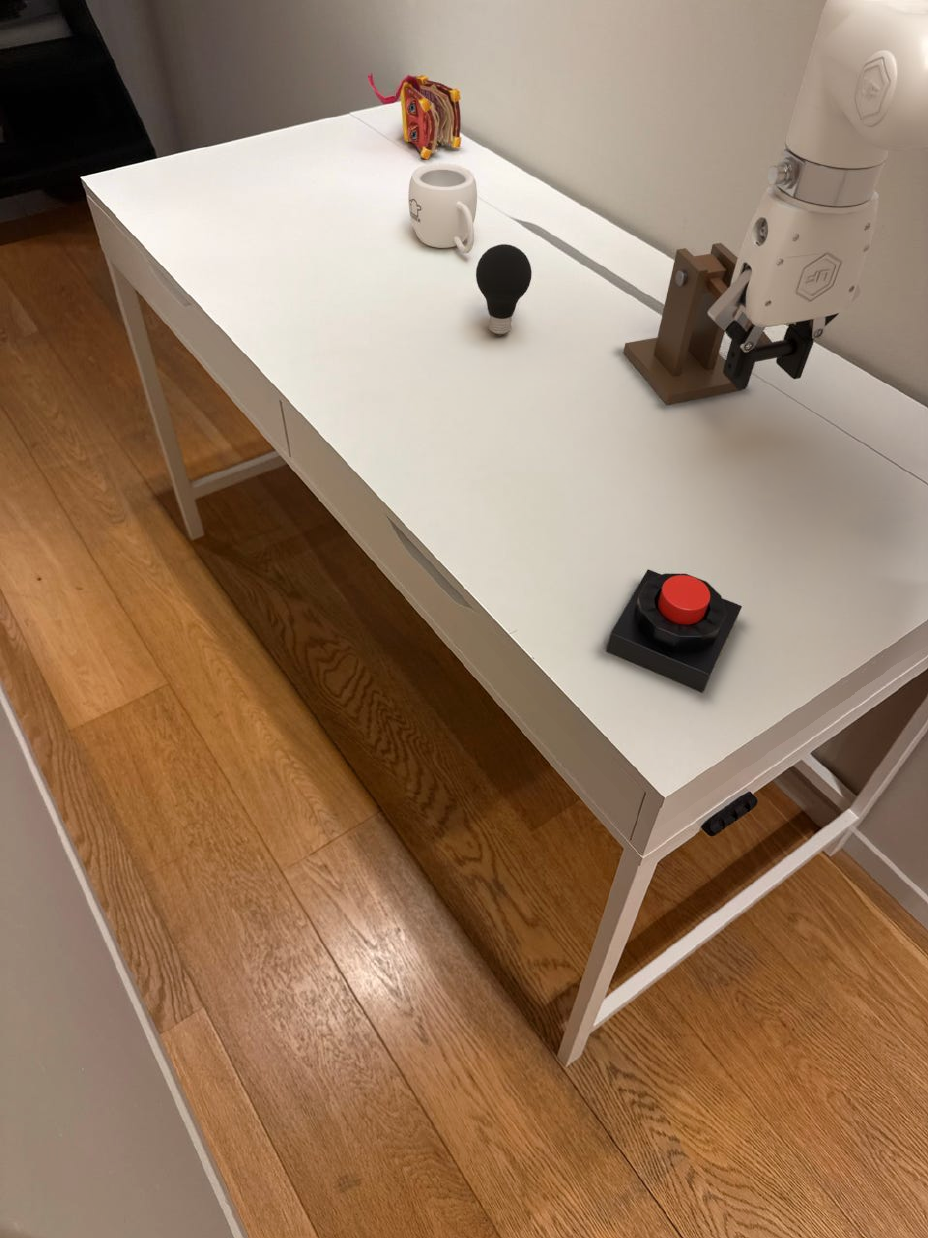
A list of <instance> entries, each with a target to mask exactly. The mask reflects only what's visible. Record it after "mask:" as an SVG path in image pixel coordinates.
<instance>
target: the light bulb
mask: <svg viewBox="0 0 928 1238" xmlns="http://www.w3.org/2000/svg"><path fill="white" fill-rule="evenodd" d="M532 275H533V274H532V266H531V263H530V260H529V258H528V256H527V255H526V253H525V252H523V251H522V250H521V249H520V248H518V247H517V246H515V245H512V244H507V243H503V244H502V243H501V244H497V245H494V246H491V247H490V248H488V249H487V250H485V252H484V253H482V255H481V256H480V258H479V260H478V262H477V266H476V268H475V279H476V280H475V281H476V284H477V287H478V289H479V292H481V294H482V295H483V297H484V298H485V302H486V306H487V307H486V308H487V311H488V315H489V317H488V319H489V321H488V322H489V323H488V329H489V330H490V331H491V332H492V333H494V334H495V335H497V336H500V337H501V336H503V335H505V334H507V333H509V332H510V330H511V329H512V322H513V315H514V313H515V311H516V308H517V304H518V302H519V301H520V299H521V298H522V297H523V296H524V295H525V294H526V293H527V291H528V289H529V288H530V284H531V281H532Z"/></svg>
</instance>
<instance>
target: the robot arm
mask: <svg viewBox="0 0 928 1238" xmlns="http://www.w3.org/2000/svg"><path fill="white" fill-rule="evenodd" d="M808 57H809V58H808V61H807V65H806V68H805V71H804V74H803V79H802V82H801V86H800V89H799V93H798V95H797V99H796V103H795V106H794V110H793V114H792V117H791V120H790V124H789V128H788V131H787V134H786V137H785V141H784V145H783V149H782V151H781V156H780V159H779V161H778V162H779V163H777V164H775V165H771V166H769V168H768V170H767V172H766V180H767V183H768V184H769V185H771V186H769V187H767V188H766V190H765V191H764V194H763V196H762V198H761V200H760V201H759V203H758V206H757V208H756V211H755V212H754V215H753V217H752V219H751V222H750V224H749V227H748V229H747V232H746V234H745V237H744V239H743V242H742V245H741V248H740V251H739V254H738V256H737V258H738V260H737V263H736V266H735V269H734V273H733V277H732V280H731V285H730V287H729V288H728V289H727V290H726V291H725V292H724V294H723V295H722V296H721V297H720V298H719V299H718V300H717V301H716V302H715V303H714V304H713V306H712V307H711V308H710V309H709V310H708V316H709V317H710V318H711V319H712V320H713V321H714V322H715V323H716V324H717V325H718V326H720V327H721V328H722V329H723V330H724V331H725V334H726V336H727V337H728V338H729V339H730V343H729V347H728V350H727V354H726V358H725V364H724V369H723V373H724V375H725V376H726V377H727V378H728V379H729V381H730V382H731V383H732V384H733V385H734V386H735V387H736V388H737V389H738V390H737V391H743V390H746V389H747V387H748V386H749V383H750V380H751V378H752V377H751V376H752V374H753V371H754V367H755V364H756V362H755V361H756V358H757V351H756V350H755V349H754V346H755V345H756V343H757V341H758V339H759V338H760V336H761V334H762V332H763V331H764V332H765V329H766V328H771V327H776V326H777V327H778V326H782V325H783V326H784V325H787V328H786V330H785V333H784V335H783V339H782V340H786V339H794V340H795V342H796V344H797V349H796V352H795V353H794V354H793V355H789V356H783V357H778V358H775V363H776V364H777V366H779V367H780V369H781V370H783V371H784V373H786V374H787V375H788V377H790V378H791V379H793V380H797V379H801V377H802V375H803V373H804V371H805V367H806V365H807V363H808V362H807V361H808V359H809V357H810V353H811V351H812V348H813V345H814V343H815V340H818V339H820V338H821V337H822V336H823V335H824V333H825V327H826V326H828V324H830V323H831V322H832V321H833V320H834V319H836V318H837V316H838V315H839V314H840V313H841V312H843V311H845V310H846V309H848V307H849V306H850V304H851V303H852V302H854V301H855V300H856V299H857V298H858V297H859V295H860V294H861V290H860V287H859V282H860V279H861V276H862V274H863V271H864V267H865V264H866V260H867V258H868V254H869V251H870V247H871V244H872V240H873V236H874V231H875V228H876V221H877V216H878V210H879V200H880V196H879V194H878V192H877V191H875V190H876V187H877V185H878V182H879V180H880V177H881V174H882V171H883V168H884V166H885V163H886V161H887V158H888V155H889V152H903V151H913V150H914V151H915V150H920V149H921V150H922V149H928V0H826V1H825V3H824V6H823V9H822V11H821V16H820V19H819V22H818V26H817V29H816V33H815V37H814V40H813V44H812V47H811V50H810V54H809V56H808ZM740 305H741V306H740ZM739 306H740V308H739V310H738V312H737V314H736V315H735V317H734V318H733V312H734V311H735V310H736V309H737V308H738V307H739ZM748 320H751V322H752V324H751V325H750V327H749V329H748V331H747V332H746V331H745V330H744V327H745V326H746V324H747V322H748Z"/></svg>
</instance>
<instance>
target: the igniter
mask: <svg viewBox="0 0 928 1238" xmlns="http://www.w3.org/2000/svg"><path fill="white" fill-rule="evenodd" d="M678 575H686V576H691V577H694V578H696V579H698V580H700V581H701V582H703V583H704V584H705V585H706V586H707V588H708V590H709V592H710V601H709V603H708V606H707V609H706V612H705V614H704V616H703V618H702V619H701V620H700V621H698V622H697V623H694V624H690V625H682V624H677V623H674V622H672V621H670V620H668V619H667V618H665V617H664V616H663V615H662V613H661V612H660V610H659V607H658V600H659V597H660V594H661V590H662V587H663V584H664V583H665V582H666V580H668V579H669V578H671V577H673V576H678ZM742 608H743V607H742V605H740V604H739V603H735V602H733V601H730V600H728V599H726V598H723V597H722V595H721V594H720V593H719V592H718V591H717V590H716V589H715V587H713V586H712V585H711V584H710V583H708V582H707V580H703V579H701V578H698V577H696V576H693V575H691V574H688V573H668V572H667V573H662V574H661V573H659V572H657V571H654V570H651V569H649V568H648V569H647V570H646V571H645V572H644V575H643V577H642V578H641V580H640V581H639V583H638V585H637V587H636V588H635V590H634V592H633V594H632V595H631V597H630V599H629V600H628V602H627V604H626V606H625V607H624V609H623V611H622V612H621V615H620V616H619V618H618V620H617V621H616V623H615V625H614V626H613V628H612V630H611V632H610V634H609V638H608V642H607V645H606V649H605V652H607V653H610V654H612V655H614V656H616V657H619V658H621V659H623V660H625V661H628V662H631V663H633V664H635V665H638V666H640V667H642V668H645V669H647V670H649V671H652V672H654V673H656V674H658V675H661V676H663V677H665V678H668V679H670V680H673V681H674V682H678V683H679V684H681V685H684V686H687V687H689V688H691V689H694V690H696V691H699V692H700V693H704V692H705V690H706V687H707V685H708V684H709V681H710V679H711V677H712V674H713V673H714V670H715V668H716V666H717V664H718V661H719V659H720V657H721V655H722V653H723V651H724V648H725V646H726V645H727V642H728V641H729V638H730V635H731V633H732V631H733V629H734V627H735V625H736V622H737V619H738V618H739V616H740V612H741V610H742Z"/></svg>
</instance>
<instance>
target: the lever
mask: <svg viewBox="0 0 928 1238" xmlns="http://www.w3.org/2000/svg"><path fill="white" fill-rule="evenodd" d="M693 256H694V257H695V258H696V259H697V260H698V261H700V262H701V263H702V264H703V265H704V266H705V267H706V268H707V269H708V272H707V276H706V280H705V284H704V288H703V292H702V294H706V293H711V294H712V295H713V296H714V297H715V299H716V300H718V299H719V298H720V297H721V296H722V295H723V294H724V292H725V291H726V290H727V289H728V288H727V286H726V285H725V284H724V283H723V278H724V275H725V272H726V269H725V268H724V267H723V265H722V264H721V263H720V262H719V261H718V259H717V258H716V257H715V256H714V255H713V254H710V253H706V254H700V255H693ZM740 306H741V305H740ZM740 306H739V307H738V308H737V309H736V310H735V311H734V312H733V318H734V317H735V315H736V314H737V312H738V310H739V308H740ZM751 324H752V322H751V320H748V322H747V324H746V326H745V327H744V330H745V331H746V332H747V331H748V329H749V327H750V325H751ZM754 349H755V350H756V351H757V358H756V361H755V363H758V362H762V361H767V360H772V359H777V358H778V357H783V356H789V355H793V354H794V353H795V352H796V349H797V344H796V342H795V340H794V339H786V340H783V339H781V340H776V341H772V340H771V338H770V337H769V336H768V335H767V334H766V333H765V330H764V331H763V332H762V334H761V336H760V338H759V339H758V341H757V343H756V345H755V346H754Z"/></svg>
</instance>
